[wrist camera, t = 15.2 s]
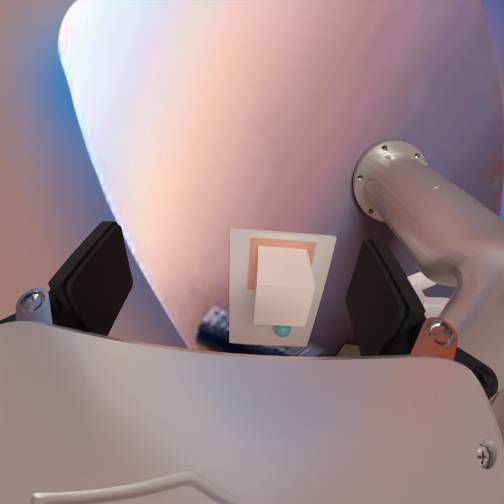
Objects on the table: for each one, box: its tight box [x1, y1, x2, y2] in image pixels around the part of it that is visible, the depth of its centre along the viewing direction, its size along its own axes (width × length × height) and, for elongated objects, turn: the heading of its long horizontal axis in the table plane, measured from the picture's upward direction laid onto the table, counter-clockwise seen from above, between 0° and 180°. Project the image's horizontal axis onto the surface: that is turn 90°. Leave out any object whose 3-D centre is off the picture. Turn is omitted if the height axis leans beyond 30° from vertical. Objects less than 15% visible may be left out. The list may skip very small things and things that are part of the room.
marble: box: [275, 325, 291, 337], centre depth 50 cm, size 3×3×3 cm
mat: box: [229, 228, 336, 347], centre depth 49 cm, size 16×26×1 cm, turn 177°
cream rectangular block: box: [254, 246, 315, 327], centre depth 41 cm, size 7×7×9 cm
